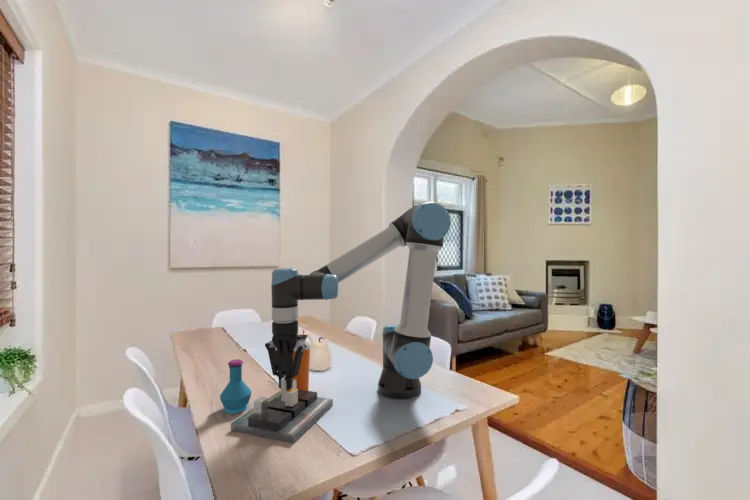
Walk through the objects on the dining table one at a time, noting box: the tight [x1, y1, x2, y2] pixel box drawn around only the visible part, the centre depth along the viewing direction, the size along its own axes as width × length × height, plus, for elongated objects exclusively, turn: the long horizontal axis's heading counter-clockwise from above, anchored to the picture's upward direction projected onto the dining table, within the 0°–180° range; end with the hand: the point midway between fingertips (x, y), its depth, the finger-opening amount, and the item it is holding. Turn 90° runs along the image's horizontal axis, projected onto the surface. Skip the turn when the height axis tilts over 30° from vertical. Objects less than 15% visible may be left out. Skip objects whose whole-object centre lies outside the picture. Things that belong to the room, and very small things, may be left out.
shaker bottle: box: [292, 334, 312, 391], centre depth 125 cm, size 9×9×20 cm
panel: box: [230, 379, 334, 444], centre depth 107 cm, size 20×23×8 cm
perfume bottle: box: [219, 358, 252, 414], centre depth 113 cm, size 9×9×15 cm
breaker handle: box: [285, 388, 298, 407], centre depth 106 cm, size 2×3×4 cm
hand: (285, 399), depth 107 cm, fingers closed
